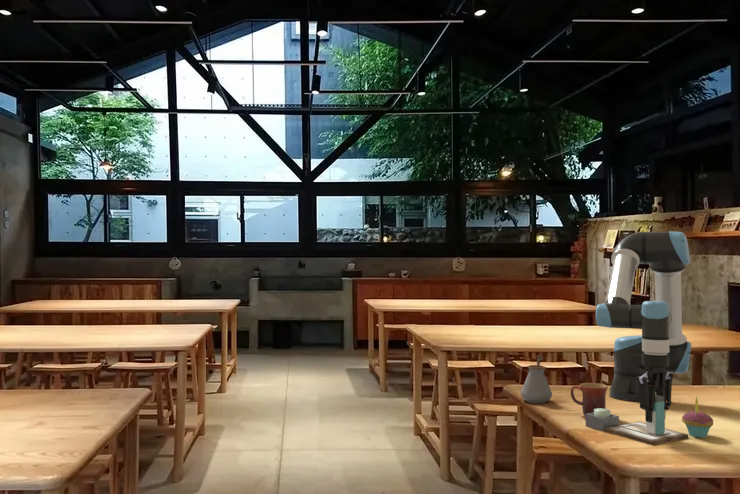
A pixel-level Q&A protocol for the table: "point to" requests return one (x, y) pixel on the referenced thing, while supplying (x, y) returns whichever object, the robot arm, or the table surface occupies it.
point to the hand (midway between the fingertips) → (655, 431)
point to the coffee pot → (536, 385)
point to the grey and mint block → (659, 414)
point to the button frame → (601, 421)
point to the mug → (591, 396)
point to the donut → (697, 422)
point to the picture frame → (645, 433)
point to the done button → (602, 412)
